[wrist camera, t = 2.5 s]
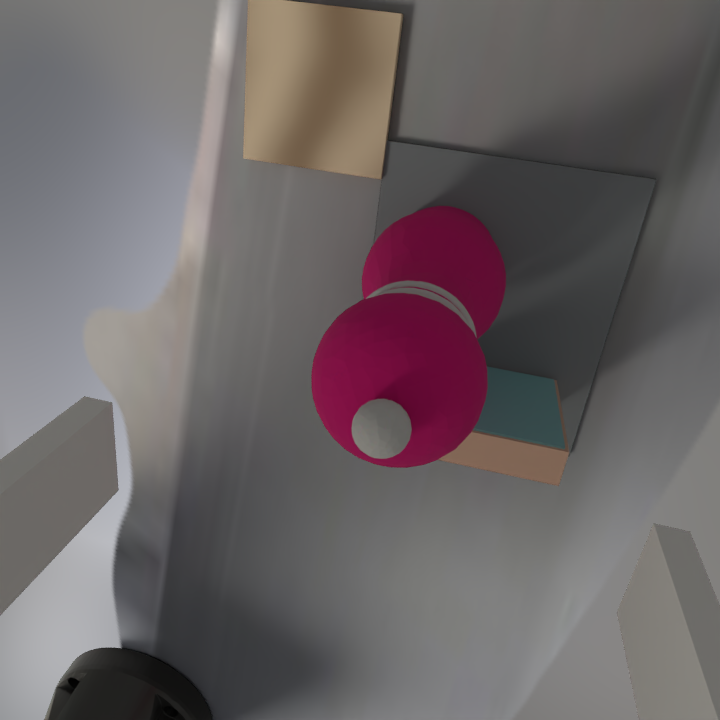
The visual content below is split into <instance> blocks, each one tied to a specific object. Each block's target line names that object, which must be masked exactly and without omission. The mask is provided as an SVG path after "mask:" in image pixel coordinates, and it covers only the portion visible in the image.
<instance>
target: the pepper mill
mask: <svg viewBox="0 0 720 720" xmlns="http://www.w3.org/2000/svg"><path fill="white" fill-rule="evenodd" d="M505 288H506V271H505V265H504V261H503V258H502V256H501V253H500V251H499V249H498V247H497V245H496V243H495V242H494V240H493V238H492V237H491V235H490V233H489V231H488V230H487V228H486V227H485V226H484V225H483V223H482V222H481V221H480V220H478V219H477V218H476V217H475V216H473V215H472V214H470V213H468V212H466V211H464V210H462V209H459V208H455V207H450V206H435V207H429V208H425V209H422V210H419V211H417V212H415V213H413V214H410V215H408V216H405V217H403V218H401V219H399V220H398V221H396V222H394V223H393V224H391V225H390V226H389V227H388V228H387V229H385V230H384V231H383V233H382V234H381V235H380V236H379V237H378V238H377V240H376V241H375V243H374V245H373V246H372V248H371V250H370V252H369V255H368V257H367V259H366V262H365V265H364V269H363V276H362V291H363V296H364V299H363V300H361V301H360V302H358V303H356V304H355V305H353V306H351V307H350V308H348V309H347V310H345V311H344V312H343V313H342V314H341V315H339V316H338V317H337V318H336V320H335V321H334V322H333V323H332V325H331V326H330V327H329V329H328V330H327V331H326V332H325V334H324V335H323V338H322V340H321V342H320V344H319V346H318V349H317V352H316V354H315V357H314V361H313V367H312V394H313V399H314V403H315V406H316V410H317V412H318V414H319V416H320V418H321V420H322V422H323V424H324V426H325V428H326V429H327V430H328V432H329V433H330V434H331V436H332V437H333V438H334V439H335V440H336V441H337V442H338V443H339V444H340V445H341V446H342V447H343V448H344V449H346V450H347V451H349V452H350V453H352V454H354V455H355V456H357V457H358V458H361V459H363V460H366V461H368V462H371V463H373V464H377V465H381V466H387V467H406V468H407V467H413V466H419V465H424V464H427V463H430V462H433V461H435V460H438V459H440V458H441V457H443V456H445V455H447V454H448V453H450V452H452V451H453V450H455V449H456V448H457V447H458V446H459V445H460V444H461V443H462V442H463V441H464V440H465V439H466V438H467V437H468V435H469V434H470V433H471V432H472V430H473V429H474V427H475V425H476V424H477V422H478V420H479V417H480V415H481V412H482V409H483V406H484V403H485V400H486V395H487V389H488V378H487V366H486V360H485V355H484V353H483V351H482V349H481V347H480V345H479V342H478V340H477V339H478V338H480V337H481V336H482V335H483V334H484V333H485V332H486V331H487V330H488V329H489V328H490V326H491V325H492V323H493V322H494V320H495V319H496V317H497V316H498V313H499V310H500V307H501V305H502V302H503V298H504V293H505Z"/></svg>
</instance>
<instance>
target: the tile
mask: <svg viewBox="0 0 720 720" xmlns="http://www.w3.org/2000/svg"><path fill="white" fill-rule="evenodd" d="M487 378H488V389H487V395H486V400H485V403H484V406H483V409H482V412H481V415H480V417H479V420H478V422H477V424H476V425H475V427H474V429H473V430H472V432H471V433H470V434H469V435H468V437H467V438H466V439H465V440H464V441H463V442H462V443H461V444H460V445H459V446H458V447H457V448H456V449H455V450H453V451H452V452H450V453H448V454H447V455H445V456H443V457H441V458H440V459H438V460H441V461H446V462H450V463H455V464H460V465H464V466H469V467H473V468H478V469H483V470H487V471H492V472H496V473H501V474H506V475H510V476H515V477H519V478H524V479H529V480H533V481H538V482H542V483H547V484H552V485H556V486H559V484H560V480H561V477H562V474H563V471H564V468H565V464H566V461H567V458H568V455H569V448H568V442H567V437H566V431H565V425H564V419H563V414H562V408H561V402H560V396H559V391H558V385H557V380H554V379H550V378H545V377H539V376H534V375H529V374H524V373H519V372H514V371H508V370H503V369H498V368H493V367H488V366H487Z"/></svg>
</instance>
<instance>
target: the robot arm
mask: <svg viewBox="0 0 720 720" xmlns="http://www.w3.org/2000/svg"><path fill="white" fill-rule="evenodd" d="M117 491H118V478H117V464H116V450H115V436H114V422H113V408H112V402H107V401H102V400H98V399H94V398H89V397H83V398H82V399H81V400H79V401H78V402H77V403H75V404H74V405H73V406H71V407H70V408H69V409H67V410H66V411H65V412H63V413H62V414H61V415H59V416H58V417H57V418H55V419H54V420H53V421H51V422H50V423H49V424H47V425H46V426H45V427H43V428H42V429H41V430H39V431H38V432H37V433H35V434H34V435H33V436H31V437H30V438H29V439H27V440H26V441H25V442H23V443H22V444H21V445H19V446H18V447H17V448H15V449H14V450H13V451H11V452H10V453H9V454H7V455H6V456H5V457H3V458H2V459H1V460H0V615H1V614H2V613H3V612H4V611H5V610H6V609H7V608H8V607H9V606H10V604H11V603H12V602H13V601H14V600H15V599H16V598H17V597H18V596H19V595H20V594H21V593H22V592H23V591H24V590H25V588H27V587H28V585H29V584H30V583H31V582H32V581H33V580H34V579H35V578H36V577H37V576H38V575H39V574H40V572H42V570H44V568H45V567H46V566H47V565H48V564H49V563H50V562H51V561H52V560H53V559H54V558H55V557H56V556H57V555H58V554H59V553H60V552H61V551H62V549H63V548H64V547H65V546H66V545H67V544H68V543H69V542H70V541H71V540H72V539H73V538H74V537H75V536H76V535H77V534H78V533H79V531H80V530H81V529H82V528H83V527H84V526H85V525H86V524H87V523H88V522H89V521H90V520H91V519H92V518H93V517H94V515H95V514H96V513H97V512H98V511H99V510H100V509H101V508H102V507H103V506H104V505H105V504H106V503H107V502H108V501H109V500H110V499H111V497H112V496H113V495H114V494H115V493H116V492H117ZM617 616H618V620H619V625H620V630H621V635H622V640H623V645H624V650H625V654H626V659H627V664H628V669H629V674H630V679H631V684H632V689H633V694H634V699H635V703H636V708H637V713H638V718H639V720H720V605H719V602H718V600H717V597H716V595H715V592H714V590H713V587H712V585H711V583H710V580H709V578H708V575H707V573H706V570H705V568H704V565H703V563H702V560H701V558H700V555H699V553H698V550H697V548H696V545H695V543H694V540H693V538H692V535H691V533H690V532H689V531H685V530H680V529H676V528H672V527H667V526H663V525H658V524H653V526H652V529H651V532H650V534H649V536H648V539H647V541H646V543H645V546H644V548H643V551H642V553H641V556H640V558H639V560H638V563H637V565H636V567H635V570H634V572H633V575H632V577H631V579H630V582H629V584H628V587H627V589H626V592H625V594H624V596H623V599H622V601H621V604H620V606H619V608H618V611H617ZM44 720H212V717H211V713H210V711H209V708H208V706H207V704H206V702H205V701H204V699H203V698H202V696H201V695H200V693H199V692H198V691H197V690H196V689H195V687H194V686H193V685H192V684H191V683H190V682H189V681H188V680H187V679H185V678H184V677H183V676H182V675H181V674H179V673H178V672H177V671H175V670H174V669H172V668H171V667H169V666H168V665H166V664H164V663H162V662H161V661H159V660H157V659H154V658H152V657H150V656H148V655H145V654H142V653H139V652H136V651H132V650H127V649H121V648H99V649H94V650H90V651H88V652H85V653H83V654H82V655H80V656H79V657H78V658H76V659H75V661H74V662H73V663H72V665H71V666H70V667H69V669H68V670H67V671H66V673H65V674H64V675H63V677H62V678H61V679H60V681H59V683H58V685H57V687H56V689H55V692H54V694H53V697H52V700H51V703H50V706H49V708H48V711H47V714H46V717H45V719H44Z"/></svg>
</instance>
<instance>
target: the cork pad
mask: <svg viewBox="0 0 720 720" xmlns="http://www.w3.org/2000/svg"><path fill="white" fill-rule="evenodd" d="M402 23H403V14H400V13H391V12H383V11H374V10H365V9H356V8H348V7H339V6H330V5H321V4H313V3H304V2H295V1H286V0H248V21H247V54H246V87H245V119H244V152H243V158H245V159H251V160H258V161H264V162H271V163H277V164H284V165H290V166H297V167H303V168H310V169H316V170H323V171H329V172H336V173H342V174H349V175H355V176H362V177H368V178H375V179H382V174H383V166H384V158H385V150H386V142H387V140H388V133H389V125H390V117H391V110H392V102H393V94H394V86H395V78H396V70H397V62H398V54H399V47H400V39H401V31H402Z"/></svg>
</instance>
